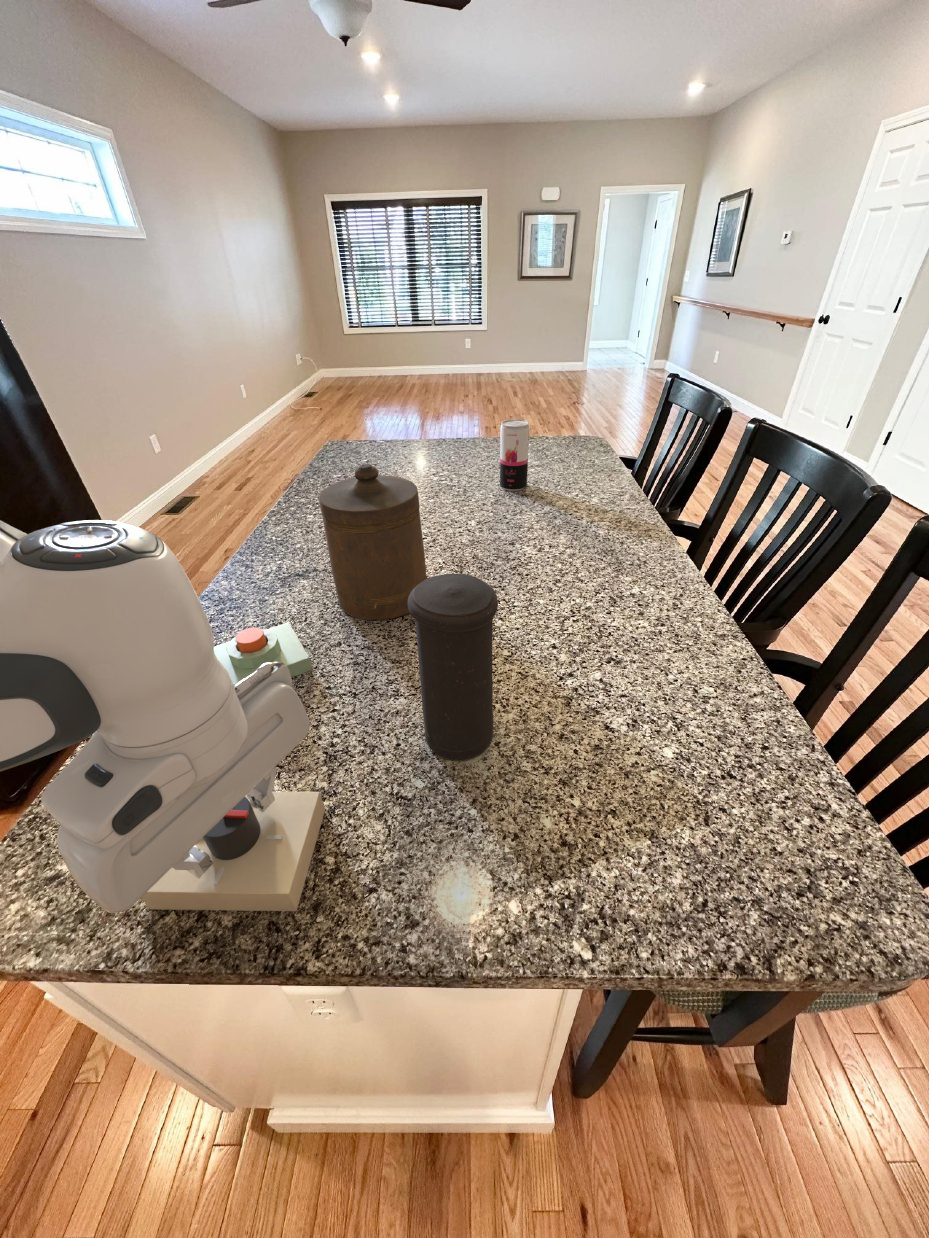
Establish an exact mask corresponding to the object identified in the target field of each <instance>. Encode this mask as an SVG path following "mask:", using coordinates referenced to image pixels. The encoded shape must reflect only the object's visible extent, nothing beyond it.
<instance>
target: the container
mask: <svg viewBox="0 0 929 1238" xmlns="http://www.w3.org/2000/svg"><path fill="white" fill-rule="evenodd" d="M498 608H499V601H498V595H497V593H496V591H495V590H494V588H493V587H492V586H491V585H490V584H489V583H487V582H486V581H485V580H482V579H481V578H478V577H476V576H473V575H471V574H466V573H443V574H439V575H438V574H437V575H434V576H432V577H429V578H427V579H426V580H424V581H423V582H421V583H420V584H419V585H417V586H416V587H415V588H414V589H413V590H412V592H411V593H410V595H409V597H408V609H409V611H410V613H409V614H410V615H411V616H412V618H413V619H414V620H415V621H414V622H415V633H416V643H417V644H416V645H417V656H418V657H417V659H418V671H419V681H420V683H419V684H420V695H421V708H422V720H423V730H424V731H423V732H424V737H425V742H426V744H427V746H428V748H429V749H430V751H432V752H433V753H434V754H435V755H436V756H438V757H440V758H443V759H446V760H450V761H457V762H458V761H459V762H460V761H467V760H471V759H475V758H477V757H478V756H480V755H482V754H483V753H484V752H485V751H486V750H487V749H488V748H489V747H490V746H491V743H492V740H493V738H494V737H493V736H494V699H493V698H494V695H493V694H494V693H493V692H494V689H493V637H494V636H493V631H494V630H493V628H494V625H493V624H494V623H493V621H494V617H495V616H496V614H497V612H498Z"/></svg>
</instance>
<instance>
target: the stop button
mask: <svg viewBox="0 0 929 1238" xmlns="http://www.w3.org/2000/svg"><path fill="white" fill-rule="evenodd" d="M262 629H263V628H260V627H248V628H245V629H242V630H241V631H239V632H238V633H236V635H235V637H236V638H235V637H234V638H235V639H236V642H237V645H238V648H239V650H240V651H241V652H242V653H252V652H255V651H258V650H261V649H262V648H263V647H265V646H266V643H267V641H266V638H265V635H264V632H263V630H262Z"/></svg>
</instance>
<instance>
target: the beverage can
mask: <svg viewBox="0 0 929 1238" xmlns="http://www.w3.org/2000/svg"><path fill="white" fill-rule="evenodd" d="M500 424H501V425H500V430H499V431H500V433H499V434H500V435H499V436H500V437H499V440H500V441H499V444H500V446H499V452H500V453H499V486H500V487H501V489H502V490H505V491H508V492H509V491H510V492H519V491H522V490H524V489H525V488H526V487H527V486H528V468H529V467H528V466H529V444H530V422H529V421H528V420H526V419H519V418H515V419H514V418H513V419H511V418H510V419H505V420H502V421H501V422H500Z"/></svg>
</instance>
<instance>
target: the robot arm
mask: <svg viewBox="0 0 929 1238" xmlns="http://www.w3.org/2000/svg"><path fill="white" fill-rule="evenodd" d="M214 646H215V640H214V633H213V629H212V626H211V624H210V621H209V619H208V617H207V614H206V612H205V609H204V607H203V604H202V603H201V600H200V598H199V596H198V594H197V591H196V590H195V587H194V586H193V584H192V581H191V580H190V578H189V576H188V574H187V572H186V571H185V569H184V567H183V565H182V564H181V562H180V561H179V559H178V558H177V556H176V555H175V554H174V552H173V551H172V549H170V547H169V546H168V544H166V543H165V542H164V541H163V540H162V539H161V538H159V537H158V536H157V535H156V534H155V533H153V532H151V531H149V530H147V529H145V528H143V527H140V526H137V525H133V524H128V523H126V522H122V521H115V520H103V519H102V520H101V519H100V520H99V519H88V520H76V521H68V522H67V521H66V522H62V523H59V524H56V525H52V526H47V527H44V528H41V529H37V530H34V531H32V532H30V533H26V532H23V531H22V530H20V529H18V528H16V527H14V526H11V525H10V524H9V523H6V522H5V521H3V520H1V519H0V772H3V771H6V770H9V769H12V768H15V767H18V766H22V765H24V764H27V763H30V762H32V761H36V760H38V759H41V758H43V757H45V756H49V755H51V754H54V753H56V752H58V751H61V750H64V749H66V748H69V747H71V746H73V745H77V744H78V743H79V742H82V741H84V740H86V739H88V738H89V737H90V736H91V737H90V739H89V740H88V741H87V742H86V743H85V745H84V746H83V747H82V748H81V750H79V752H78V753H77V754H76V755H75V756H74V757H73V759H72V760H71V761H70V762H69V763H68V764H67V765H66V766H65V767H64V769H62V771H61V772H59V774H58V775H57V776H56V777H55V778H54V779H52V781H51V782H50V783H49V785H47V786H46V788H45V789H44V790H43V792H42V794H41V796H40V802H41V804H42V806H43V807H44V808H45V810H46V811H47V812H48V813H49V815H50V816H51V817H52V818H53V819H54V821H56V822H57V823H58V824H59V827H58V830H57V834H56V843H57V848H58V851H59V854H60V856H61V859H62V861H63V862H64V864H65V866H66V869H67V871H68V872H69V874H70V875H71V877H72V878H73V880H74V881H75V882H76V884H77V885H78V887H79V888H80V889H81V891H82V892H83V893H84V894H85V895H86V896H87V897H89V899H91V900H92V901H93V902H94V904H96V905H97V906H98V907H100V908H101V909H103V910H104V911H105V912H107V913H109V914H117V913H118V914H119V913H123V912H126V911H128V910H129V909H131V908H133V906H134V905H136V903H137V902H139V900H140V899H142V898H141V897H142V896H143V895H144V894H145V893H146V892H147V891H148V890H149V889H150V888H151V887H152V886H153V885H154V884H155V883H156V882H158V881H159V880H160V879H161V878H162V877H163V876H164V875H165V874H166V873H167V872H168V871H169V870H170V869H171V868H174V869H175V870H187V871H188V872H190V873H191V874H192V875H194V876H195V877H197V878H200V877H201V876H202V875H203V874H204V873H205V872H206V871H207V870H208V869H209V867H210V866H211V865H212V864H213V862H212V861H211V860H210V859H211V858H210V857H209V855H208V854H207V853H205V852H204V851H201V850H200V849H199V848H198V847H196V846H195V845H196V844H197V843H198V842H199V841H200V840H201V839H202V838H203V837H204V836H205V835H206V834H207V833H208V832H209V831H210V830H211V829H212V828H213V827H214V826H215V825H216V824H217V823H218V822H219V821H220V820H221V819H222V818H223V817H224V816H225V815H226V814H227V813H228V812H229V811H230V810H231V809H232V808H233V807H234V806H235V805H237V804H238V803H239V802H240V801H241V800H242V799H243V798H244V797H245V796H246V795H247V797H248V799H250V804H251V805H252V806H253V807H254V808H256V809H257V808H259V810H260V811H261V812H264V811H265V810H266V809H267V808H268V807H269V806H270V805H271V804H272V803H273V802H274V801H275V798H274V795H273V793H272V792H273V788H274V784H275V780H276V776H277V772H278V769H277V766H278V765H279V764H280V763H281V762H282V761H283V760H284V759H285V758H286V757H287V756H288V755H289V754H290V753H291V752H292V751H293V750H295V748H296V747H297V746H298V745H300V744H301V742H303V740H304V739H305V738H306V737H307V736H308V733H309V729H310V725H311V722H310V718H309V716H308V713H307V711H306V709H305V706H304V704H303V702H302V700H301V698H300V696H299V694H298V693H297V692H296V690H295V689H294V688H293V679H292V678H291V675H290V672H289V669H288V667H287V666H286V665H285V664H284V663H282V662H273V663H270V662H266V663H264V664H262V665H261V666H259V667H258V668H257V669H256V670H255V672H253V673H252V674H251V675H250V676H248V677H246V678H244V679H243V680H241V681H240V682H238V683H237V684H236V685H234V686H233V683H232V680H231V678H230V675H229V673H228V671H227V670H226V668H225V667H224V666H223V664H222V663H221V662H220V661H219V660H218V659H217V657H216V656H215V653H214Z"/></svg>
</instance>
